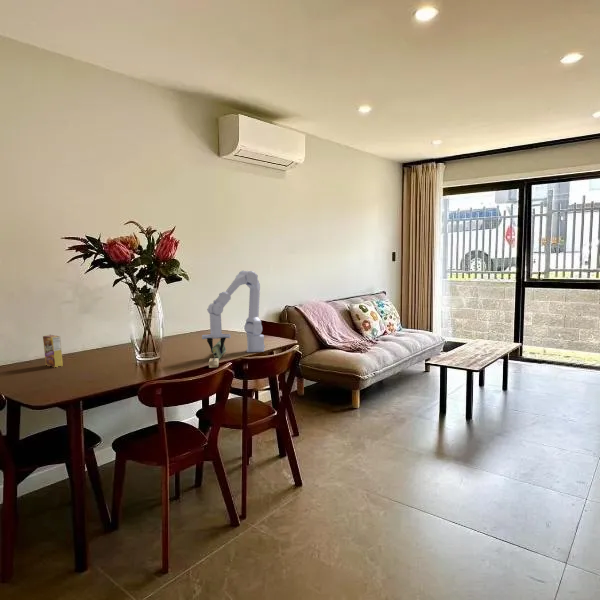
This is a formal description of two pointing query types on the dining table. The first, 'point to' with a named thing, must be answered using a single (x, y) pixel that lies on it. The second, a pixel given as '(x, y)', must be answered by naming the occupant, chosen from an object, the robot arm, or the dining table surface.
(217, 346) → the handheld radio
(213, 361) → the taped cardboard parcel
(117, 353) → the dining table surface
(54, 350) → the candy box
